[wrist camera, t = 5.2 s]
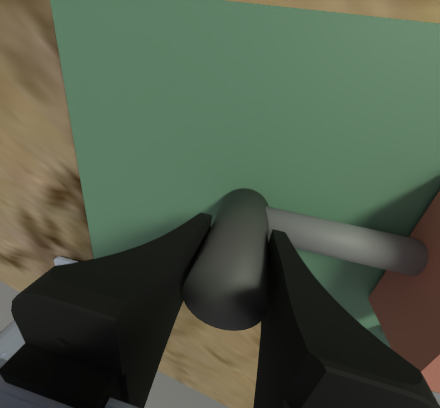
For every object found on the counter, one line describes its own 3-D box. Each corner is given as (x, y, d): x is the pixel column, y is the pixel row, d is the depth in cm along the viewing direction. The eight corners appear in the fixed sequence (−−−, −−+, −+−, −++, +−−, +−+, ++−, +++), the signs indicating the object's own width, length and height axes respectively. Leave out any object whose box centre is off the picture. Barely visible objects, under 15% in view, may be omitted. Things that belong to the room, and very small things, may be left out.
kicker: (406, 308, 15) (503, 463, 8) (213, 258, 16) (176, 359, 10) (507, 182, 10) (849, 310, 4) (233, 133, 12) (192, 173, 6)
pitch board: (517, 381, 17) (531, 397, 16) (103, 266, 21) (96, 273, 20) (963, 89, 8) (1053, 89, 7) (63, -11, 12) (47, -19, 11)
